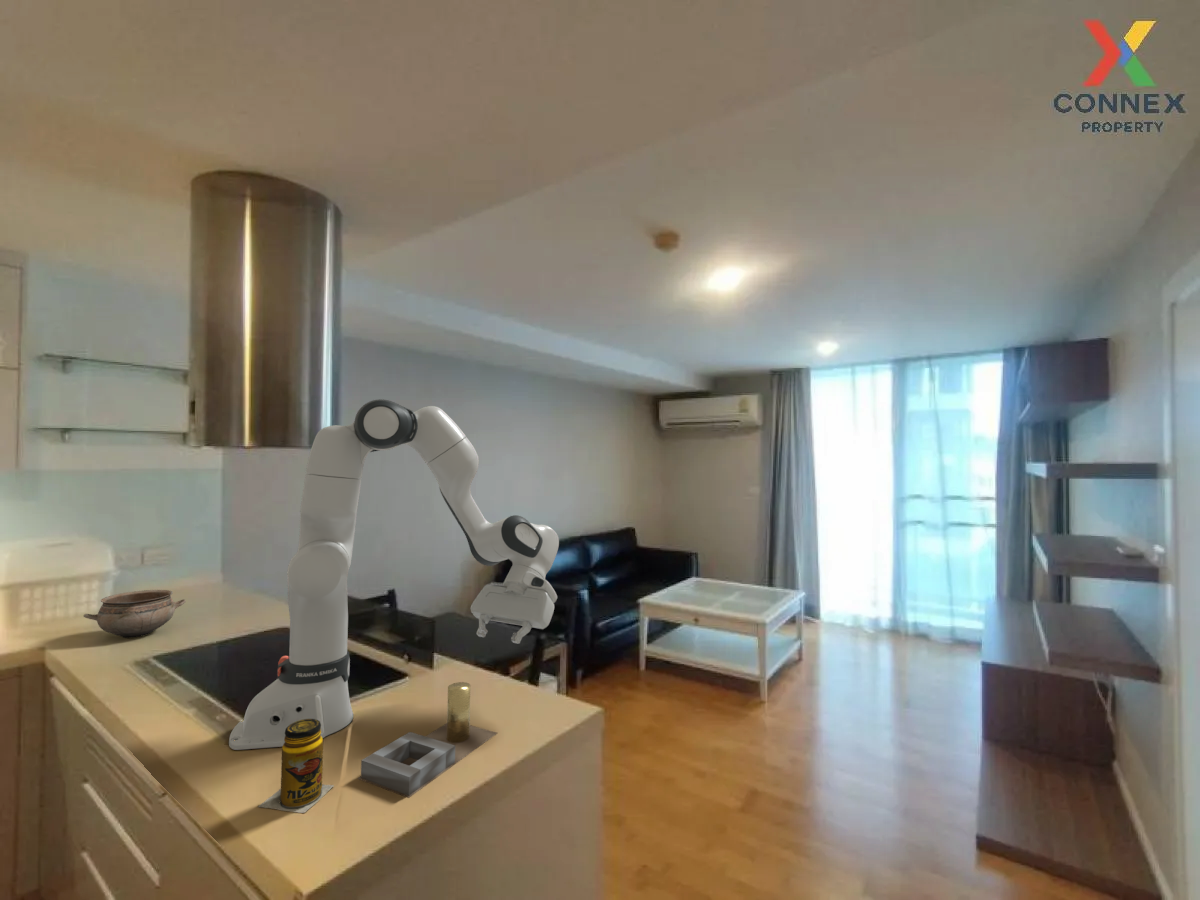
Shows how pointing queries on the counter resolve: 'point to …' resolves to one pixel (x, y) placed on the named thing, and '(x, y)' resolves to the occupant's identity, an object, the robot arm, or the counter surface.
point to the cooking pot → (135, 612)
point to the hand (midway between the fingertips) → (497, 638)
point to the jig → (418, 759)
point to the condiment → (300, 768)
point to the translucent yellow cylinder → (458, 712)
